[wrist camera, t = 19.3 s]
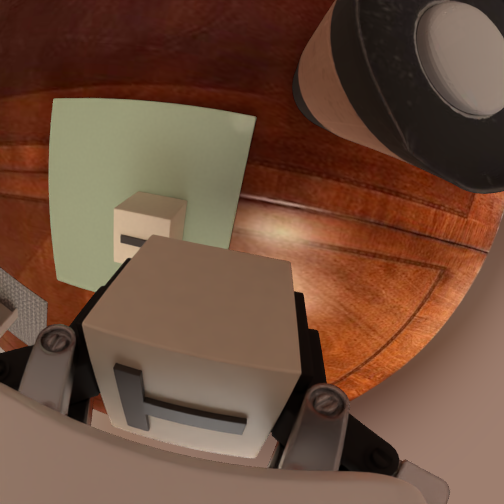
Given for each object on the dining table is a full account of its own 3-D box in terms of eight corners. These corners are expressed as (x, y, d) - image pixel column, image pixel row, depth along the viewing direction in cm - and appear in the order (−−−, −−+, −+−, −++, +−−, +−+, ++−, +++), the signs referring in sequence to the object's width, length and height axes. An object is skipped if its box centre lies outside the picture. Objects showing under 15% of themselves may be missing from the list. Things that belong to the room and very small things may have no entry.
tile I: (137, 190, 26) (112, 208, 22) (187, 200, 26) (170, 220, 22) (135, 238, 28) (112, 263, 24) (181, 248, 29) (165, 276, 24)
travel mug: (354, 40, 20) (504, -52, 2) (386, 118, 23) (573, 165, 5) (274, 65, 21) (284, -60, 3) (309, 144, 24) (410, 238, 6)
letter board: (57, 98, 23) (53, 98, 22) (256, 116, 23) (256, 116, 23) (60, 276, 32) (57, 280, 32) (215, 319, 33) (214, 323, 33)
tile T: (151, 233, 10) (76, 328, 6) (290, 261, 10) (303, 380, 6) (151, 334, 12) (109, 430, 8) (261, 358, 13) (255, 464, 8)
